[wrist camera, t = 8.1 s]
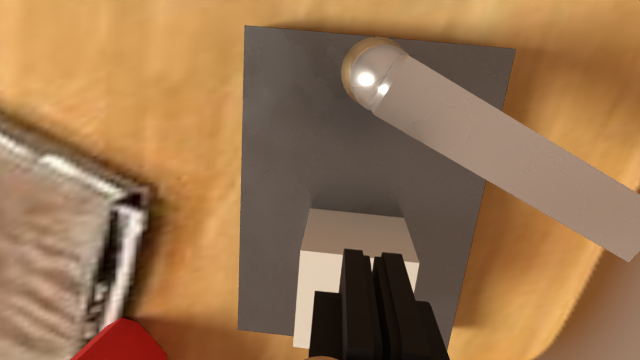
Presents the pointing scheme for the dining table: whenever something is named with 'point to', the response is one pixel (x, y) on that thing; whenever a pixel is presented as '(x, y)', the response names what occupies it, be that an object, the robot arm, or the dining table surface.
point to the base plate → (348, 167)
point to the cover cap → (327, 253)
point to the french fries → (122, 344)
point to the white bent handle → (492, 144)
